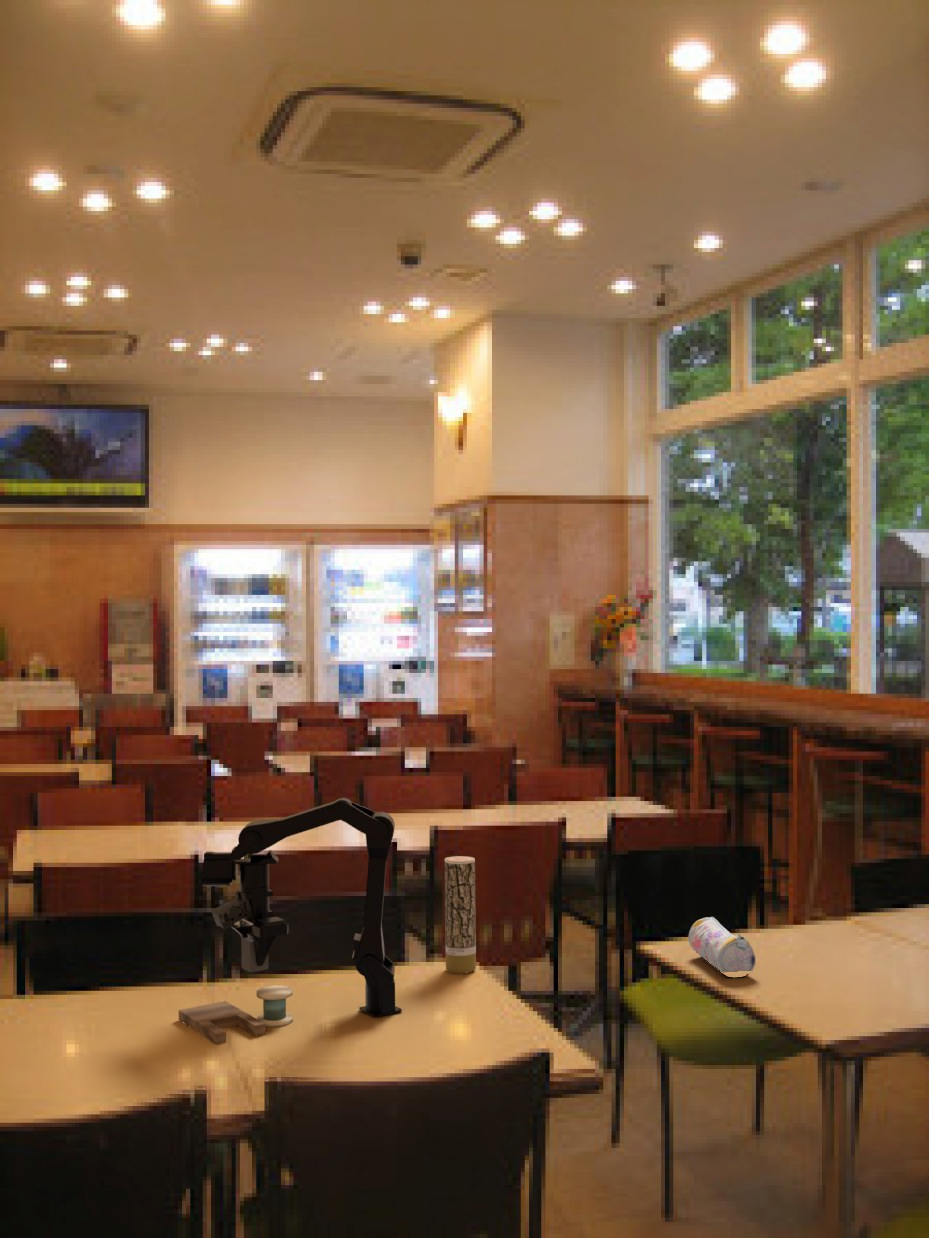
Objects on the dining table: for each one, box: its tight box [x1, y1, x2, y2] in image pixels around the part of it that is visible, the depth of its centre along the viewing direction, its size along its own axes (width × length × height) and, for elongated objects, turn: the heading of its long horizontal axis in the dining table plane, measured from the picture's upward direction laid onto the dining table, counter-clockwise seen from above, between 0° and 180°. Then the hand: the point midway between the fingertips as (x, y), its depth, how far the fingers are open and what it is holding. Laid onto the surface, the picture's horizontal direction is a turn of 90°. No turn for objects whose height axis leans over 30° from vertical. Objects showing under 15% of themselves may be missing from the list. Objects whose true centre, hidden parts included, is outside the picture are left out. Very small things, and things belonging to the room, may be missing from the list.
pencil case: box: [688, 916, 756, 973], centre depth 287 cm, size 21×9×10 cm, turn 10°
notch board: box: [178, 1000, 266, 1045], centre depth 248 cm, size 18×10×2 cm, turn 35°
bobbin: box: [255, 985, 294, 1028], centre depth 251 cm, size 7×7×6 cm
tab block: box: [240, 936, 269, 973], centre depth 256 cm, size 4×4×6 cm
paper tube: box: [444, 855, 477, 974], centre depth 286 cm, size 7×7×25 cm
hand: (255, 963), depth 256 cm, fingers closed on tab block, 4 cm apart
